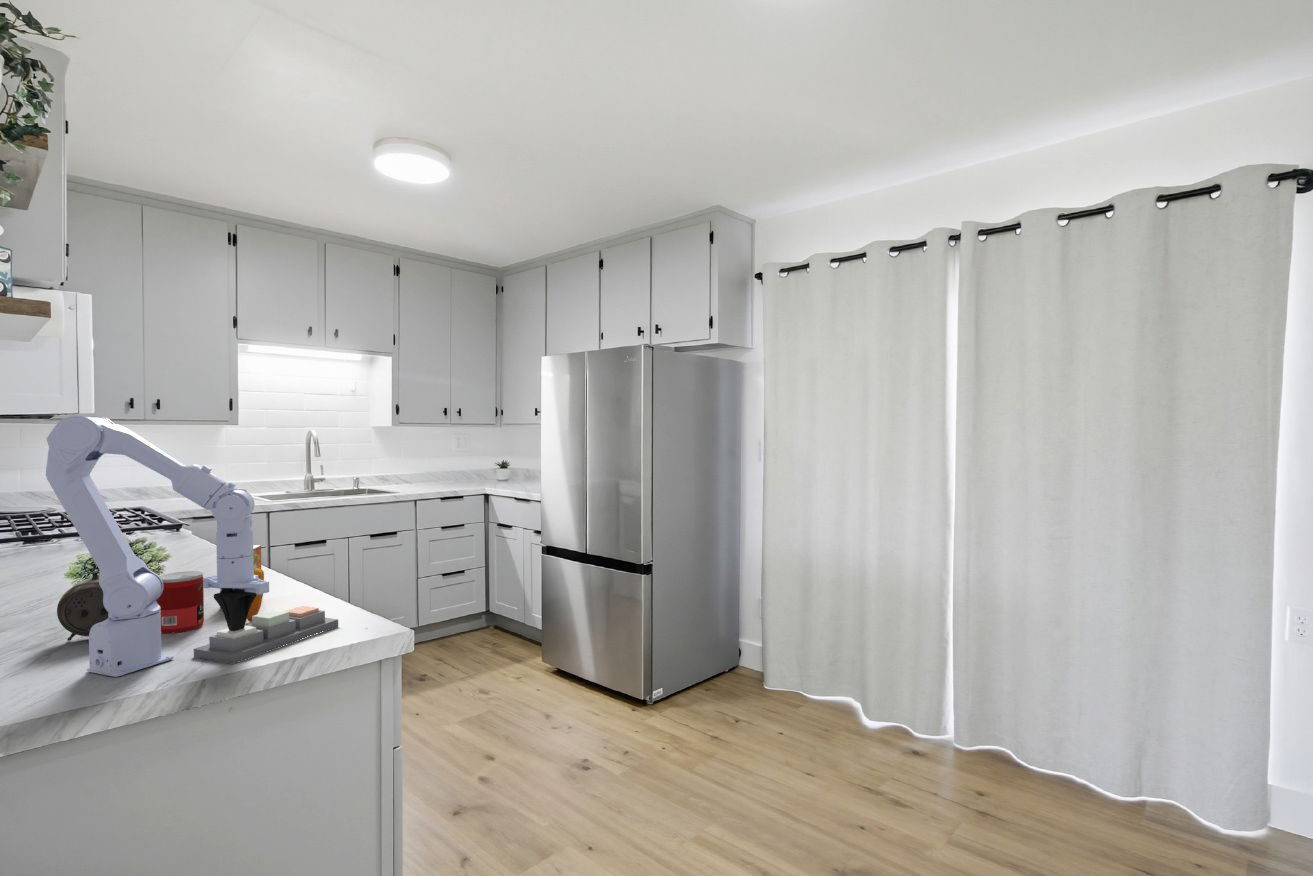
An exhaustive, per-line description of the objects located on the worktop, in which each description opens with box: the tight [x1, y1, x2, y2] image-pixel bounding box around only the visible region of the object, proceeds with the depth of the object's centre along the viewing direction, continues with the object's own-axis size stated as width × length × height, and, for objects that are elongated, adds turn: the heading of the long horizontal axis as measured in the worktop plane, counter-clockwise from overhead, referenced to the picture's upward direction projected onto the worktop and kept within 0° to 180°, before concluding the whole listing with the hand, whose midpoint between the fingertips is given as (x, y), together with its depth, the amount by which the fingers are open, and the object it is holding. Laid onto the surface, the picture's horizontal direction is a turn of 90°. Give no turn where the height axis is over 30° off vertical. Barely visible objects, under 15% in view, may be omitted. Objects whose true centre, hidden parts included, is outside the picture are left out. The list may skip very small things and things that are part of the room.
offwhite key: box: [216, 625, 256, 639], centre depth 123 cm, size 4×4×2 cm
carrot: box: [246, 551, 265, 623], centre depth 142 cm, size 5×5×15 cm
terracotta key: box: [283, 605, 320, 618], centre depth 136 cm, size 4×4×2 cm
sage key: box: [251, 609, 289, 628], centre depth 130 cm, size 4×4×2 cm
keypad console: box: [193, 609, 339, 665], centre depth 130 cm, size 23×10×4 cm, turn 159°
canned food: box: [156, 570, 205, 634], centre depth 138 cm, size 8×8×11 cm
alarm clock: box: [56, 557, 109, 641], centre depth 131 cm, size 11×5×16 cm, turn 114°
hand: (236, 629), depth 123 cm, fingers closed, pressing on offwhite key
